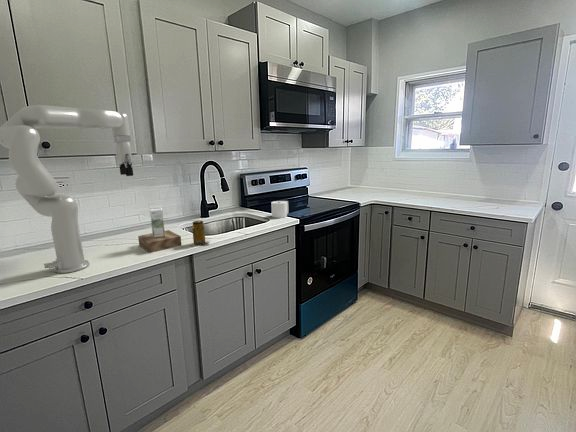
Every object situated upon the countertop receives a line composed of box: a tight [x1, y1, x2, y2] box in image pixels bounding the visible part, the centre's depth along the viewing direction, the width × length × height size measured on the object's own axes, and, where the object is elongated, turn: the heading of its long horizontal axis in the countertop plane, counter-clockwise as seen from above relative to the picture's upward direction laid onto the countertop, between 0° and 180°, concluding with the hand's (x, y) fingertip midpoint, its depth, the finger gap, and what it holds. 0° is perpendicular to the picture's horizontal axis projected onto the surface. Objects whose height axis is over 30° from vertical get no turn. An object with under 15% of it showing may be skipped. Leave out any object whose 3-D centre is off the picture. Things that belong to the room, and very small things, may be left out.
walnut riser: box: [137, 229, 182, 254], centre depth 165 cm, size 16×16×5 cm
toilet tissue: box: [271, 200, 289, 219], centre depth 224 cm, size 11×12×10 cm
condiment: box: [191, 220, 211, 247], centre depth 166 cm, size 7×8×12 cm
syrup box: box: [149, 207, 166, 238], centre depth 162 cm, size 6×6×14 cm
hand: (126, 175), depth 159 cm, fingers open, 9 cm apart
